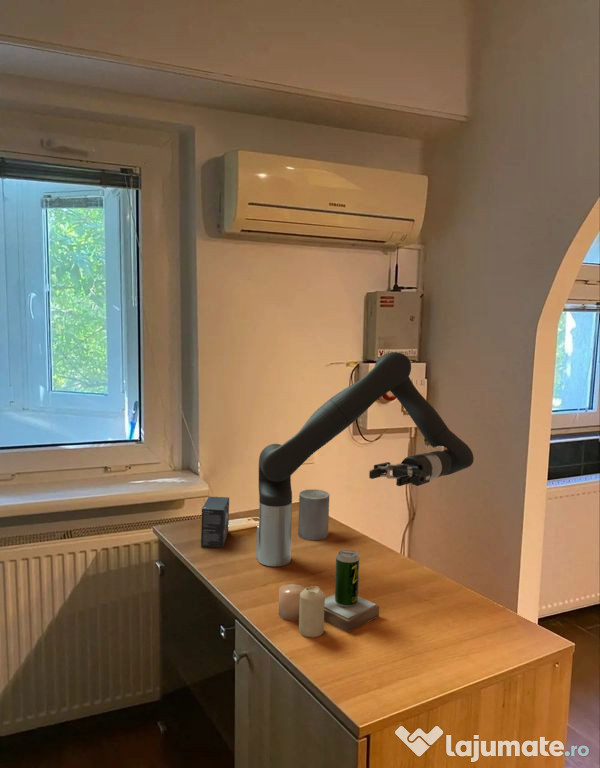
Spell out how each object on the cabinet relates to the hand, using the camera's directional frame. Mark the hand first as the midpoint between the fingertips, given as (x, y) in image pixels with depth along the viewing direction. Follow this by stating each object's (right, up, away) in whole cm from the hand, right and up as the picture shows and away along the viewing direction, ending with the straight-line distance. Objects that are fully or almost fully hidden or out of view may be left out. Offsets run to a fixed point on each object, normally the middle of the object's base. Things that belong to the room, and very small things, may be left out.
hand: (383, 478), depth 152 cm
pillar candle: (-17, -25, +44) cm, 53 cm away
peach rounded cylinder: (-23, -31, -8) cm, 39 cm away
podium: (-10, -31, -9) cm, 34 cm away
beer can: (-10, -28, -9) cm, 31 cm away
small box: (-47, -25, +37) cm, 65 cm away
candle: (-18, -32, -16) cm, 40 cm away
